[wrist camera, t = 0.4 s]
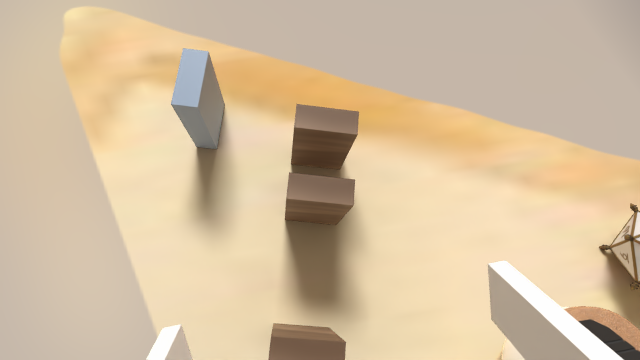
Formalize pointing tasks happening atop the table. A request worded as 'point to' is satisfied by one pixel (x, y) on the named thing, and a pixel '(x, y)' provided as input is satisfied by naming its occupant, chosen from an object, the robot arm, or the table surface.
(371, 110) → the table surface
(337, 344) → the domino
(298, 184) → the domino
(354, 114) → the domino
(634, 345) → the lidded jar
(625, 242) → the game die
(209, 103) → the domino
